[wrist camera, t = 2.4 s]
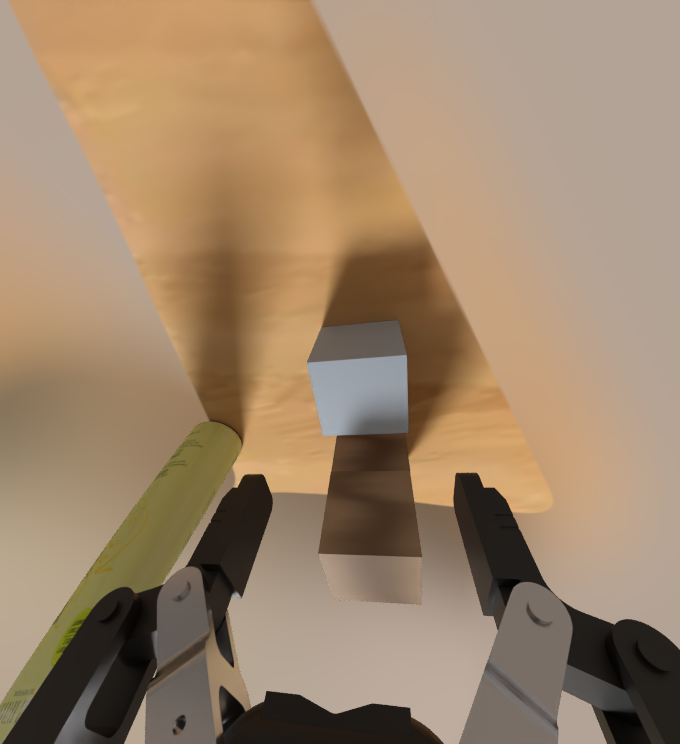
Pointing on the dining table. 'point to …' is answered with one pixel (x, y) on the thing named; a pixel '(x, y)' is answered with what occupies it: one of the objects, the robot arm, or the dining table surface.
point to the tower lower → (371, 453)
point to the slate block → (360, 379)
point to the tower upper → (371, 538)
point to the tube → (136, 549)
